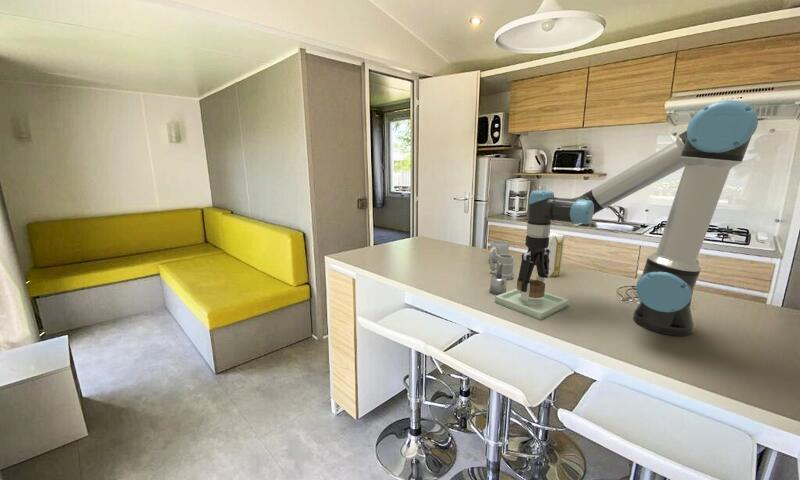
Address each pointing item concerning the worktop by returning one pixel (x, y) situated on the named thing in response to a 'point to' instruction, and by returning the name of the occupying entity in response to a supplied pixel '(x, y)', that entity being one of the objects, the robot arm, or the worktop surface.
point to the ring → (534, 288)
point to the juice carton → (555, 253)
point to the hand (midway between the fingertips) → (531, 296)
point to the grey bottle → (498, 282)
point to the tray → (532, 304)
